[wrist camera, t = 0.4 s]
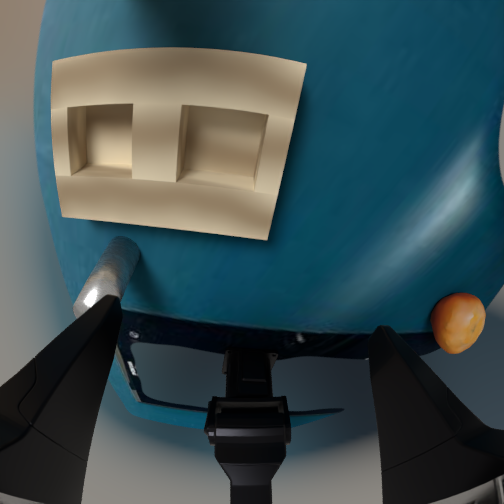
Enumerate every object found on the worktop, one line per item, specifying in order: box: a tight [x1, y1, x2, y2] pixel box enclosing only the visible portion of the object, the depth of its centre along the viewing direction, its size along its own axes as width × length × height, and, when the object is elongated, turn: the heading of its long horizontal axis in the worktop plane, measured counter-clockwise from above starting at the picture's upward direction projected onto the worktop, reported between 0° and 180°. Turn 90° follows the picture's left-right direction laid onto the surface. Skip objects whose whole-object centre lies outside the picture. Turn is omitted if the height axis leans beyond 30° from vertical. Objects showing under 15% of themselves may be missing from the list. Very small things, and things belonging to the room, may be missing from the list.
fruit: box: [430, 293, 486, 354], centre depth 28 cm, size 8×8×8 cm
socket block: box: [51, 47, 307, 240], centre depth 16 cm, size 12×16×3 cm
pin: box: [73, 236, 140, 318], centre depth 20 cm, size 3×3×8 cm
